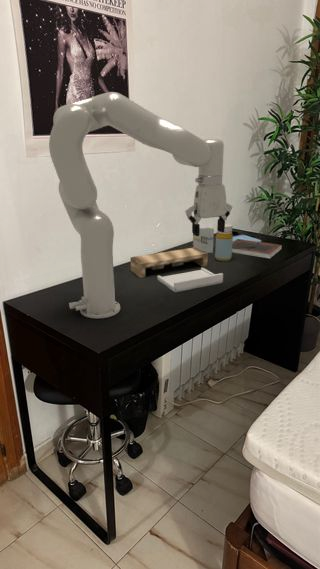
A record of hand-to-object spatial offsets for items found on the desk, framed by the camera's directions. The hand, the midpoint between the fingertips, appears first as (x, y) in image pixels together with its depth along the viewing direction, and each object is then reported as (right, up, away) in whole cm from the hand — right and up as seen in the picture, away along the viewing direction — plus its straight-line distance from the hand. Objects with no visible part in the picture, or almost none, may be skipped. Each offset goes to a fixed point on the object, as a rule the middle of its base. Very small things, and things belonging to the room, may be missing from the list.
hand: (208, 233), depth 136 cm
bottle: (+11, -6, +41) cm, 43 cm away
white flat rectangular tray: (-5, -16, +17) cm, 24 cm away
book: (+27, -2, +54) cm, 60 cm away
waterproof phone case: (+25, +4, +69) cm, 74 cm away
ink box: (+4, -1, +53) cm, 54 cm away
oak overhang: (-12, -10, +30) cm, 34 cm away
